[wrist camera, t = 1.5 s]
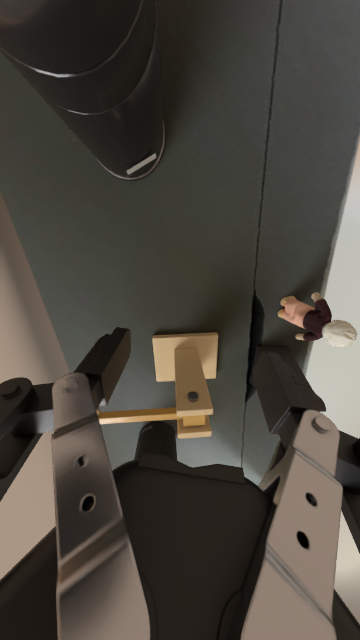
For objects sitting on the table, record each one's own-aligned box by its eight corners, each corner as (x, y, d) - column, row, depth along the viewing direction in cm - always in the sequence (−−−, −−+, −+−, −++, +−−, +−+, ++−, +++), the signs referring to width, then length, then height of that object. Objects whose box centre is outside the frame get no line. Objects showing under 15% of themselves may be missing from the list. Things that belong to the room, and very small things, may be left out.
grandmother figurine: (295, 322, 35) (358, 364, 23) (275, 325, 35) (327, 368, 23) (300, 282, 32) (376, 306, 20) (278, 285, 32) (340, 311, 20)
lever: (82, 417, 27) (69, 442, 23) (75, 398, 25) (61, 423, 22) (201, 409, 27) (205, 433, 24) (201, 391, 26) (206, 413, 22)
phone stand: (257, 345, 36) (294, 391, 25) (286, 345, 37) (336, 390, 26) (248, 381, 40) (278, 434, 29) (275, 381, 40) (315, 433, 29)
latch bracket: (157, 377, 38) (150, 453, 25) (152, 335, 34) (141, 397, 21) (214, 374, 39) (238, 446, 25) (216, 332, 35) (246, 390, 21)
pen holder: (178, 420, 44) (180, 468, 35) (174, 446, 47) (175, 495, 38) (138, 419, 43) (129, 468, 34) (137, 445, 47) (129, 496, 37)
